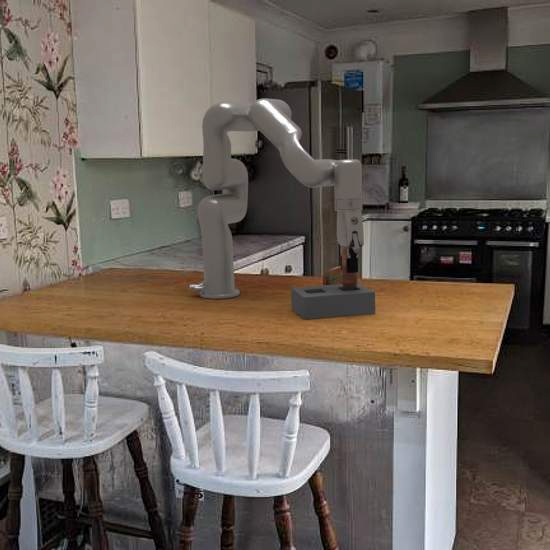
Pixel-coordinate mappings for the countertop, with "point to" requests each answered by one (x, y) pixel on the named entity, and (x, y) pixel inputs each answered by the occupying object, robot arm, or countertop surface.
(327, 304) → the bore block
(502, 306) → the countertop surface
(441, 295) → the countertop surface
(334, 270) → the tin
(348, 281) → the pin
